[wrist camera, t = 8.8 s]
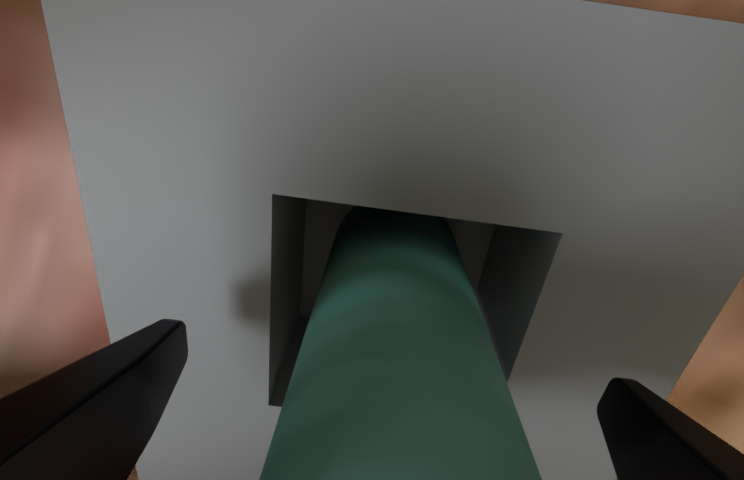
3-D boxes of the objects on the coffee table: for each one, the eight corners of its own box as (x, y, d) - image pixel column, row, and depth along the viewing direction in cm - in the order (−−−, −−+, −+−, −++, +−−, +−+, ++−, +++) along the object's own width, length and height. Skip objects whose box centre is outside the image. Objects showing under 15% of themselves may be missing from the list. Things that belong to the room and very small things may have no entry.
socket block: (207, 366, 17) (138, 481, 12) (180, -21, 11) (24, -81, 6) (529, 407, 17) (581, 535, 12) (679, 50, 11) (886, 43, 6)
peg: (329, 295, 14) (205, 766, 5) (339, 186, 12) (174, 590, 3) (441, 310, 14) (543, 805, 5) (467, 204, 12) (710, 652, 3)
